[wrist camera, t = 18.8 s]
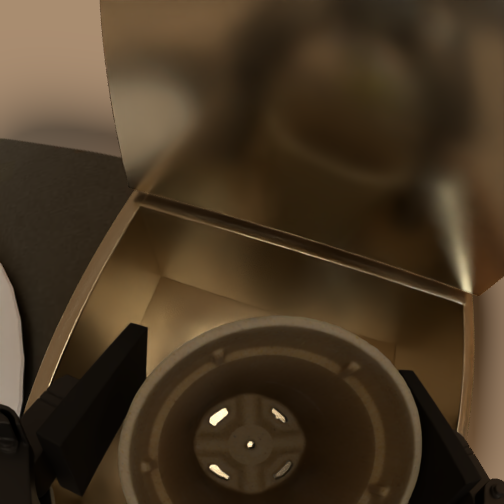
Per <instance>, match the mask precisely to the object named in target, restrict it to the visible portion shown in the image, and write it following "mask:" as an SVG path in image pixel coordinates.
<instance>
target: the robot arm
mask: <svg viewBox="0 0 504 504" xmlns="http://www.w3.org/2000/svg"><path fill="white" fill-rule="evenodd" d="M147 338H148V327H145V326H142V325H138V324H135V323H131V322H130V323H129V325H128V326H127V327H126V328H125V329H124V330H123V331H122V332H121V333H120V334H119V336H118V337H117V338H116V339H115V340H114V341H113V342H112V343H111V345H110V346H109V347H108V348H107V349H106V350H105V351H104V352H103V354H102V355H101V356H100V357H99V358H98V359H97V360H96V361H95V363H94V364H93V365H92V366H91V367H90V368H89V369H88V371H87V372H86V373H85V374H84V375H83V376H82V378H81V379H80V380H79V379H77V378H75V377H72V376H70V375H68V374H67V375H65V376H63V377H61V378H59V379H56V380H55V381H54V382H53V383H52V384H51V385H50V386H49V387H48V388H47V390H46V391H44V392H43V393H42V394H41V396H40V398H38V399H37V400H36V401H35V402H34V403H33V404H32V405H31V406H30V407H29V409H28V410H27V411H26V412H25V413H24V414H23V415H22V416H21V417H20V419H19V417H18V415H17V414H16V412H15V411H14V410H13V409H11V408H10V407H9V406H6V405H2V404H0V504H55V499H54V492H53V489H52V486H51V485H52V483H53V482H54V480H55V478H56V479H57V480H58V482H59V484H60V486H61V487H63V488H65V489H67V490H69V491H71V492H73V493H75V494H77V495H79V496H81V497H82V496H83V495H84V493H85V491H86V489H87V487H88V485H89V483H90V481H91V479H92V477H93V476H94V474H95V472H96V470H97V468H98V466H99V464H100V462H101V461H102V459H103V457H104V455H105V453H106V451H107V450H108V448H109V446H110V444H111V442H112V440H113V439H114V437H115V435H116V433H117V431H118V430H119V428H120V426H121V424H122V422H123V421H124V419H125V417H126V415H127V413H128V410H129V408H130V405H131V403H132V401H133V399H134V397H135V395H136V393H137V392H138V390H139V389H140V387H141V386H142V384H143V383H144V381H145V380H146V365H147ZM398 372H399V373H400V375H401V376H402V377H403V379H404V381H405V382H406V384H407V386H408V388H409V389H410V391H411V394H412V396H413V398H414V401H415V404H416V407H417V409H418V414H419V418H420V425H421V431H422V434H421V435H422V457H421V463H420V470H419V475H418V477H417V481H416V484H415V487H414V490H413V492H412V495H411V497H410V499H409V501H408V502H409V504H504V482H503V481H502V480H500V479H491V480H490V479H489V477H488V476H487V474H486V472H485V471H484V469H483V467H482V466H481V464H480V462H479V461H478V459H477V458H476V456H475V454H474V455H473V451H472V449H471V448H469V445H468V443H467V441H466V440H465V438H464V437H463V436H462V435H461V434H460V433H459V432H457V431H456V430H455V429H454V430H452V428H451V426H450V425H449V423H448V422H447V420H446V419H445V417H444V416H443V414H442V413H441V411H440V409H439V408H438V406H437V405H436V403H435V402H434V400H433V399H432V397H431V396H430V394H429V393H428V391H427V390H426V389H425V387H424V386H423V384H422V383H421V381H420V380H419V378H418V377H417V375H416V374H415V373H414V371H413V370H399V371H398Z"/></svg>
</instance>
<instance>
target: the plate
mask: <svg viewBox="0 0 504 504" xmlns="http://www.w3.org/2000/svg"><path fill="white" fill-rule="evenodd" d="M24 376H25V351H24V341H23V328H22V319H21V315H20V312H19V308H18V304H17V299H16V295H15V291H14V288H13V286H12V284H11V282H10V280H9V278H8V276H7V274H6V272H5V270H4V268H3V265H2V264H1V263H0V404H2V405H6V406H9V407H10V408H11V409H13V410H14V411H15V412H16V414H17V415H18V417H19V419H20V417H21V413H22V408H23V403H24Z"/></svg>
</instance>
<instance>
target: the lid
mask: <svg viewBox="0 0 504 504" xmlns="http://www.w3.org/2000/svg"><path fill="white" fill-rule="evenodd" d="M100 12H101V26H102V37H103V47H104V56H105V65H106V72H107V79H108V86H109V92H110V99H111V105H112V111H113V117H114V122H115V127H116V133H117V137H118V143H119V147H120V152H121V157H122V161H123V166H124V170H125V174H126V179H127V183H128V187H129V188H131V189H135V190H139V191H142V192H146V193H150V194H154V195H157V196H161V197H165V198H168V199H172V200H176V201H179V202H183V203H187V204H190V205H194V206H197V207H201V208H204V209H208V210H212V211H215V212H219V213H222V214H226V215H229V216H232V217H236V218H239V219H243V220H246V221H250V222H253V223H256V224H260V225H263V226H266V227H270V228H273V229H277V230H280V231H283V232H286V233H290V234H293V235H296V236H300V237H303V238H306V239H309V240H313V241H316V242H319V243H322V244H325V245H329V246H332V247H335V248H338V249H341V250H344V251H347V252H351V253H354V254H357V255H360V256H363V257H366V258H369V259H372V260H375V261H378V262H381V263H384V264H387V265H390V266H393V267H396V268H399V269H402V270H405V271H408V272H411V273H414V274H417V275H420V276H423V277H426V278H429V279H432V280H435V281H437V282H440V283H443V284H446V285H449V286H452V287H455V288H457V289H460V290H463V291H466V292H469V293H471V294H474V295H477V296H479V295H481V294H482V293H483V292H485V291H486V290H487V289H488V288H490V287H491V286H492V285H494V284H495V283H496V282H498V280H500V279H501V278H502V277H503V276H504V0H100Z"/></svg>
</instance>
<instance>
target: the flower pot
mask: <svg viewBox="0 0 504 504" xmlns="http://www.w3.org/2000/svg"><path fill="white" fill-rule="evenodd" d="M224 408H226V410H227V411H228V414H227V415H226V416H225V417H224V418H223V419H222V420H220V421H219V422H218V423H217V424H216V426H214V425H212V424H210V422H209V420H210V418H211V416H213V415H214V414H215V413H217V412H219V411H220V410H221V409H224ZM273 408H275V409H276V410H278V411H279V412H280V413H282V414H283V415H284V416H285V417H286V420H287V422H286V423H285V422H283V421H282V420H281V419H279V418H278V419H276V415H275V414H274V413H273V412H272V410H273ZM421 434H422V431H421V425H420V418H419V414H418V409H417V407H416V404H415V401H414V398H413V396H412V394H411V391H410V389H409V388H408V386H407V384H406V382H405V381H404V379H403V377H402V376H401V375H400V373H399V372H398V370H397V369H396V368H395V367H394V366H393V364H392V363H391V361H390V360H389V359H388V358H386V357H385V356H384V355H383V354H382V353H381V352H380V351H379V350H378V349H377V348H375V347H374V346H373V345H370V344H369V343H368V342H367V341H365V340H363V339H361V338H360V337H358V336H357V335H355V334H353V333H351V332H349V331H347V330H345V329H343V328H341V327H338V326H335V325H332V324H330V323H327V322H325V321H319V320H315V319H310V318H305V317H298V316H295V317H294V316H293V317H291V316H282V315H280V316H264V317H256V318H248V319H243V320H238V321H235V322H231V323H228V324H224V325H221V326H218V327H216V328H213V329H211V330H209V331H206V332H205V333H203V334H201V335H198V336H197V337H195V338H194V339H192V340H190V341H188V342H186V343H184V344H183V345H182V346H181V347H179V348H178V349H177V350H175V351H174V352H172V353H171V354H170V355H169V356H167V357H166V358H165V359H164V360H163V361H162V362H161V363H160V364H159V365H158V366H157V367H156V368H155V369H154V370H153V371H152V373H151V374H150V375H149V376H148V377H147V378H146V380H145V381H144V383H143V384H142V386H141V387H140V389H139V390H138V392H137V393H136V395H135V397H134V399H133V401H132V403H131V405H130V408H129V410H128V413H127V416H126V418H125V421H124V424H123V427H122V431H121V435H120V441H119V446H118V459H119V461H118V466H119V476H120V482H121V486H122V490H123V493H124V496H125V498H126V501H127V503H128V504H408V501H409V499H410V497H411V495H412V492H413V490H414V487H415V484H416V481H417V477H418V475H419V470H420V463H421V457H422V435H421ZM249 442H254V444H255V447H254V448H253V449H250V448H248V447H247V446H248V443H249ZM287 462H291V463H292V465H291V467H290V470H289V471H288V472H287V473H286V474H285V475H284V476H283V477H280V478H275V475H276V474H277V473H278V472H279V471H280V470H281V469H282V468H283V467H284V466H285V465H286V463H287ZM211 465H217V466H218V467H219V469H220V470H221V471H222V472H223V473H225V474H226V475H228V476H229V480H226V479H224V478H220V477H219V476H218V475H216V474H215V473H213V472H212V471H211V470H210V469H209V467H210V466H211Z"/></svg>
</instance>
